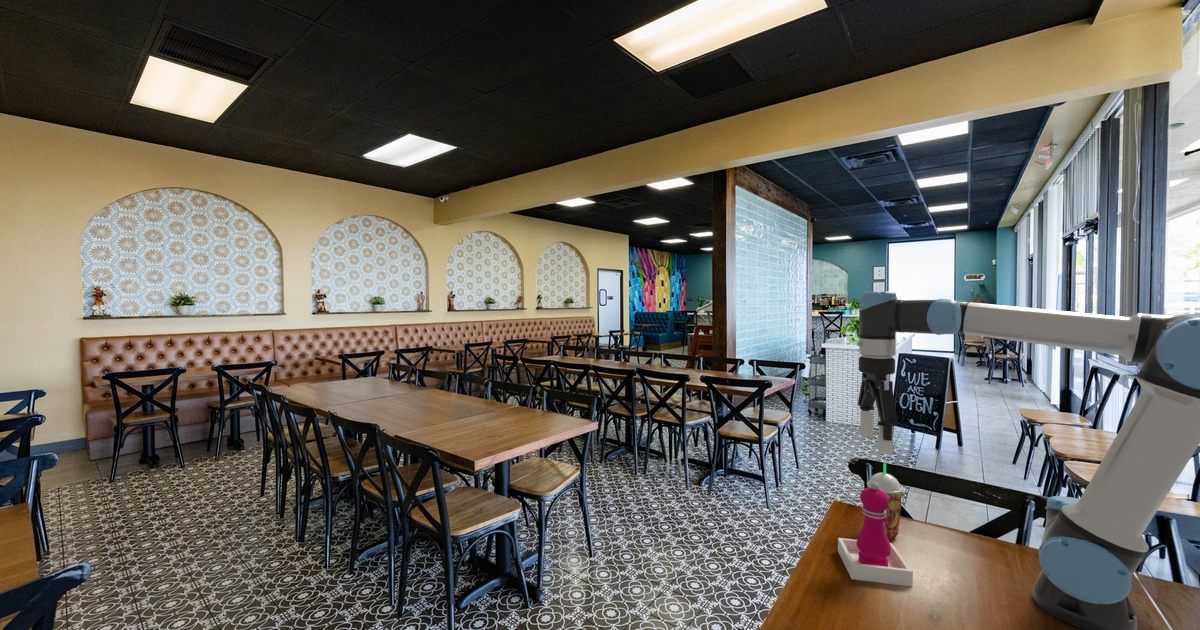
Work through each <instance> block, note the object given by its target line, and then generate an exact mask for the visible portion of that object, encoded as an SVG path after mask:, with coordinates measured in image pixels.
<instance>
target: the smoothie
mask: <svg viewBox="0 0 1200 630" xmlns="http://www.w3.org/2000/svg"><path fill="white" fill-rule="evenodd" d="M882 468H883V470H882V471H883V472H877V473H875V474H873V475H872V476H871V477H870V478H869V480H868V481H867V482H866V485H867V487H866V488H869V487H871V486H870V484H871V483H872V482H876V483H877V484H878V485H879V488H878V489H880V490H882V491H883V492H885V493H886V495H887V497H888V499H889V505H888V507H887V508H886V509H885V510H886V517H885V518H884V530H885V533H886V536H887V538H888V540H889V541H893V540H895V539H896V538H897V536H898V535H899V530H900V528H899V527H900V520H901V519H900V518H901V509H902V498H903V497H902V496H903V491H904V490H903V487H902V486H901V484H900V482H899V481H898V479H897V478H896V477H894V476H893V475H892V474H890V473H887V463H886V462H885V463H883V467H882Z"/></svg>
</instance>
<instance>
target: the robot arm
mask: <svg viewBox="0 0 1200 630" xmlns="http://www.w3.org/2000/svg"><path fill="white" fill-rule="evenodd" d="M858 314H859V316H858V318H859V319H858V320H859V321H858V322H859V323H858V325H859V326H858V327H859V329H858V330H859V336H858V337H859V338H858V339H859V341H858V342H856V346H857V347H858V349H859V350H858V352H859V354H860V355H861V356H859V357H858V370H859V372H860V373H861V383H860V389H859V395H858V398H857V399H858V400H857V406H859V409H860V430H859V431H860V437H863V438H873V437H874V411H875V406H874V405H875V404H876V408H877V412H878V418H879V421H877V426H878V443H877V445H878V451H877V452H878V454H880V455H893V454H894V427H895V426H898V425H899V423H898V416H897V410H896V404H895V403H896V401H895V395H894V383H893V381H892V380H888V379H887V376H888V375H894V374H895V373H896V359H895V358H894V357H895V356H896V354H897V353H896V352H897V349H896V348H897V346H896V345H897V339H896V338H897V337H896V336H897V335H896V333H908V334H909V333H911V334H924V335H925V334H928V335H929V334H930V335H937V336H940V335H955V334H962V335H968V336H969V335H970V336H978V337H985V338H991V339H992V338H993V339H998V340H999V339H1000V340H1007V341H1014V342H1021V343H1022V342H1023V343H1030V344H1034V345H1035V344H1036V345H1042V346H1043V345H1044V346H1050V347H1056V348H1057V347H1058V348H1064V349H1065V348H1066V349H1072V350H1079V351H1087V352H1094V353H1102V354H1109V355H1115V356H1122V357H1123V358H1124V359H1125V360H1126V361H1128V362H1131V363H1137V364H1141V365H1142V366H1141V368H1140V369H1139V371H1138V373H1137V375H1136V376H1135V379H1136V381H1137V383H1138V384H1139V385H1140V387H1141V389H1142V391H1141V393H1140V395H1139V396H1138V398H1137V400H1136V401H1135V403H1134V404H1133V406H1132V409H1131V410H1130V412H1129V414H1128V415H1127V416H1126V419H1125V420H1124V422H1123V424H1122V426H1121V427H1120V429H1119V431H1118V433H1117V435H1116V436H1115V438H1114V439H1113V441H1112V443H1111V445H1110V446H1109V448H1108V449H1107V451H1106V453H1105V454H1104V457H1103V459H1102V460H1101V462H1100V464H1099V466H1098V467H1097V469H1096V470H1095V473H1094V474H1093V475H1092V477H1091V479H1090V480H1089V482H1088V484H1087V486H1086V487H1085V489H1084V491H1083V493H1082V494H1081V497H1080V498H1076V497H1070V496H1062V495H1054V496H1053V495H1052V496H1050V497H1048V499H1047V501H1046V506H1045V510H1046V515H1045V517H1046V518H1045V527H1044V532H1043V535H1042V539H1041V544H1040V546H1039V548H1038V551H1037V552H1038V554H1037V555H1038V556H1037V557H1038V558H1039V564H1040V567H1041V571H1040V573H1039V574H1038V576H1037V578H1036V581H1035V582H1034V583H1033V587H1032V598H1033V600H1034V602H1035V603H1036V604H1037V605H1038V606H1039V607H1040V608H1041V609H1042V610H1044V611H1045V613H1046V612H1047V614H1049V615H1051V616H1053V617H1054V618H1057V619H1058V620H1060V621H1062V622H1064V623H1067V624H1069V625H1071V626H1073V627H1076V628H1079V629H1081V630H1138V619H1137V615H1136V612H1135V610H1134V607H1133V605H1132V602H1131V600H1130V597H1129V593H1131V592H1132V589H1133V582H1134V581H1133V575H1134V573H1135V572H1136V570H1137V569H1138V567H1139V565H1140V564H1141V563H1142V561H1143V559H1144V557H1145V556H1146V554H1147V553H1148V551H1149V550H1150V547H1149V544H1148V543H1147V542H1146V540H1145V538H1144V535H1143V534H1144V532H1145V531H1146V529H1147V528H1148V526H1149V524H1150V523H1151V522H1152V520H1153V518H1154V517H1155V514H1156V513H1157V511H1158V510H1159V509H1160V507H1161V505H1162V504H1163V502H1164V501H1165V499H1166V498H1167V496H1168V494H1169V493H1170V491H1171V490H1172V488H1173V486H1174V485H1175V483H1176V482H1177V481H1178V479H1179V477H1180V475H1182V472H1183V471H1184V469H1185V467H1186V466H1187V465H1188V464H1189V461H1190V460H1191V458H1192V457H1193V455H1194V454H1195V452H1196V450H1197V449H1198V447H1199V445H1200V313H1189V314H1157V313H1156V314H1155V313H1144V312H1143V313H1142V312H1137V313H1136V314H1133V315H1131V316H1120V315H1109V314H1097V313H1088V312H1087V313H1086V312H1075V311H1067V310H1055V309H1045V308H1044V309H1043V308H1034V307H1023V306H1015V305H1002V304H1001V305H1000V304H993V303H992V304H991V303H983V302H982V303H979V302H971V301H970V302H967V301H959V300H953V299H947V298H939V299H915V300H914V299H910V300H909V299H906V300H905V299H898V297H897V294H896V292H894V291H865V292H863V293H861V295H860V299H859V309H858Z"/></svg>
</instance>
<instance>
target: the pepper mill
mask: <svg viewBox="0 0 1200 630" xmlns="http://www.w3.org/2000/svg"><path fill="white" fill-rule="evenodd" d="M870 486H871V487H869V488H867V487H865V488H864V489H862V490H861V492H860V495H859V496H860V497H859V501H860V502H861V504H862V505H863V506H862V507H861V509H862V511H861V512H862V513H861V514H863V515H864V517H863V518H864V519H863V520H864V521H863V526H862V527H861V529H860V531H859V532H858V535H857V538H856V540H857V547H858V549H859V550H860V552H859V558H858V560H859V562H860V563H861V564H867V565H876V566H885V567H888V559H887V557H888V556H889V555H890V553H891V546H890V540H888V538H887V536H886V533H885V530H884V518H885V517H886V510H885V509H886V508H887V507H888V505H889V499H888V497H887V495H886V493H885V492H883V491H882V490H880V489H878V488H879V485H878V484H877V483H876V482H872V483H871V484H870Z"/></svg>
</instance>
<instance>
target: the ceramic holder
mask: <svg viewBox="0 0 1200 630" xmlns="http://www.w3.org/2000/svg"><path fill="white" fill-rule="evenodd" d="M890 546H891V553H890V555H889V556H888V557H887V559H888V567H885V566H876V565H867V564H861V563H860V562H859V560H858V558H859V552H860V550H859V549H858V547H857V539H855V538H854V539H853V538H844V537H838V538H837V552H838V554H839V556H840V558H841V560H842V562H843V565H844V566H845V568H846V571H847V573H848V574H849V577H850V578H851V580H856V581H863V582H870V583H871V582H872V583H880V584H889V585H894V586H895V585H896V586H904V587H905V586H906V587H912V588H913V584H914V581H913V578H914V572H913V570H912V568H911V567H910V566H909V564H908V563H907V561H906V560H905V559H904V557H903V556H902V554H901V553H900V552H899V551H898V549H897V547H896V546H895V545H894V543H890Z"/></svg>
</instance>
